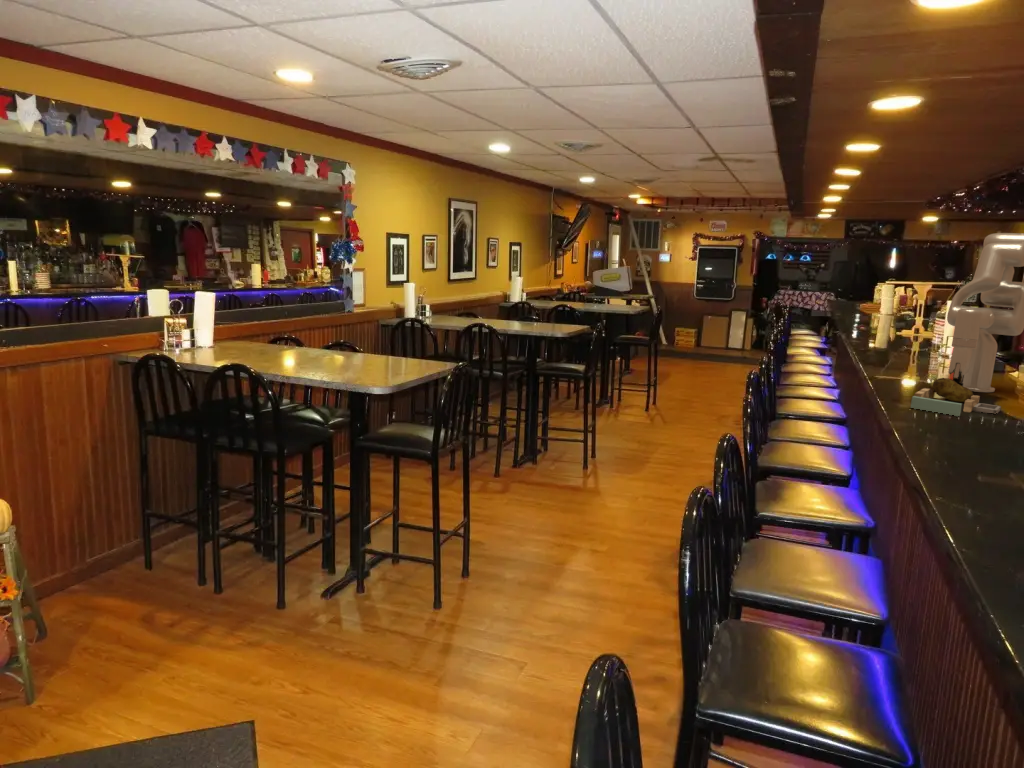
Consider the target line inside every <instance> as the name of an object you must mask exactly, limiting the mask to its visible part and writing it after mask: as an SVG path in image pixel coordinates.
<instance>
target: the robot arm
mask: <svg viewBox="0 0 1024 768" xmlns="http://www.w3.org/2000/svg"><path fill="white" fill-rule="evenodd" d="M1014 267H1015V268H1016V267H1017V268H1019V267H1020V268H1021V267H1024V233H1021V232H1020V233H1019V232H1018V233H1017V232H1016V233H1015V232H1014V233H1013V232H997V233H990V234H988V235H986V236H985V237H984V240H983V248H982V250H981V253H980V256H979V259H978V262H977V265H976V268H975V272H974V275H973V278H972V280H971V281H969V282H968V283H966V284H965V285H963V286H962V287H960V289H958V290H957V292H956V293H955V294H954V296H952V299H951V301H950V305H949V308H948V311H947V315H946V321H947V323H948V324H949V325H950V326H953V327H954V329H953V335H952V342H951V347H953V350H952V353H951V358H950V362H949V367H948V374H949V375H952V374H953V376H952V380H953V381H955V382H956V383H957V384H959V385H961V386H963V387H966V388H968V389H969V390H971V391H972V392H975V393H994V392H995V390H996V388H995V387H992V386H991V385H992V380H993V379H992V378H993V374H994V369H995V363H996V356H997V352H998V342H997V341H996V339H995V337H994V336H993V335H1000V336H1001V335H1003V336H1012V337H1013V336H1014V337H1016V336H1020V335H1021V334H1022V333H1023V331H1024V282H1023V281H1013V278H1014V275H1015V268H1014ZM978 294H980V301H981V303H982V304H984V305H985V306H992V307H976V306H975V307H973V306H965V305H964V306H963V303H964V302H965V301H966V300H967V299H968V298H971V297H972V296H974V295H978ZM996 307H1003V308H996ZM1004 308H1013V309H1004Z"/></svg>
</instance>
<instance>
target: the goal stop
mask: <svg viewBox="0 0 1024 768" xmlns="http://www.w3.org/2000/svg"><path fill="white" fill-rule="evenodd" d="M910 401H911V402H910V408H914V409H913V410H916V409H920V410H919V411H922V410H926V411H925V412H928V411H932V412H931V413H934V412H938V413H937V414H940V413H943V414H942V415H946V414H949V415H948V416H952V415H954V416H953V417H958V416H959V417H960V416H961V412H962V407H963V406H962V405H963V403H962V402H954V401H949V400H941V399H935V398H930V397H929V398H923V397H916V396H914V395H912V397H911V400H910Z"/></svg>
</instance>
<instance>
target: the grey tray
mask: <svg viewBox="0 0 1024 768" xmlns="http://www.w3.org/2000/svg"><path fill="white" fill-rule="evenodd" d="M1001 409H1002V406H1001V405H994V404H989V403H982V402H979V403H978V404H977V405H975V406H974V407H973V411H972V412H975V413H981V412H983V413H982V414H987V413H994V414H996V413H997V414H999V412H1000V411H1001ZM997 414H996V415H997Z"/></svg>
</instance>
